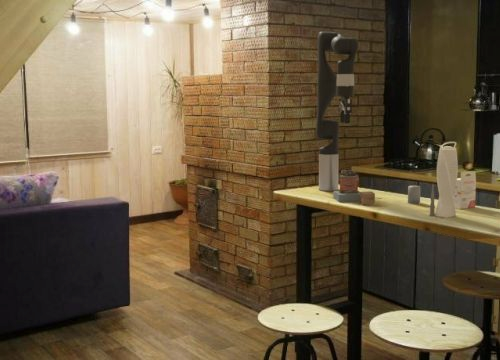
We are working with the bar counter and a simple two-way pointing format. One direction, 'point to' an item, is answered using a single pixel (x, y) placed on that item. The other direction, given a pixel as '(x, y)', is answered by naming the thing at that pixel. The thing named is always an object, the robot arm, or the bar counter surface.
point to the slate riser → (346, 196)
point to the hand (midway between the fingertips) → (344, 122)
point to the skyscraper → (445, 182)
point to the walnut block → (367, 198)
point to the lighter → (348, 182)
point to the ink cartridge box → (465, 190)
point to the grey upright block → (414, 194)
